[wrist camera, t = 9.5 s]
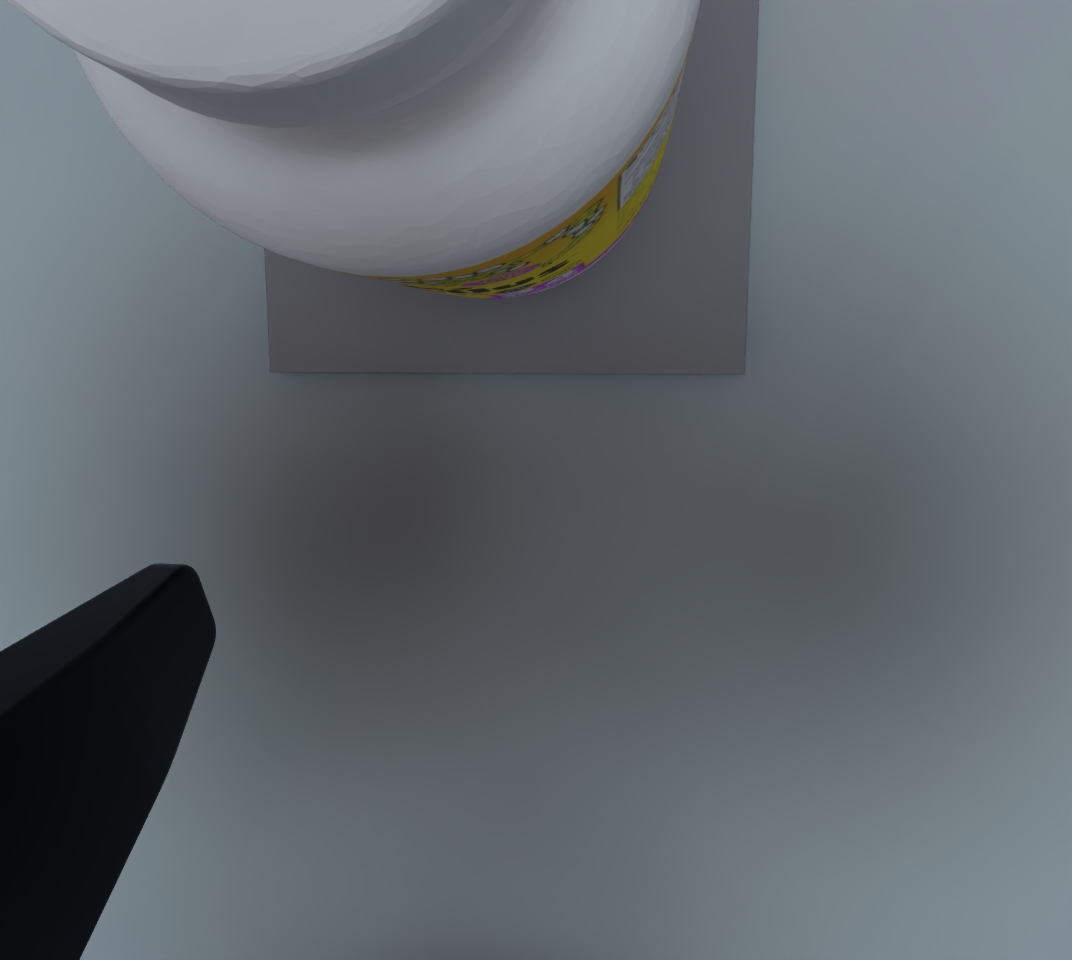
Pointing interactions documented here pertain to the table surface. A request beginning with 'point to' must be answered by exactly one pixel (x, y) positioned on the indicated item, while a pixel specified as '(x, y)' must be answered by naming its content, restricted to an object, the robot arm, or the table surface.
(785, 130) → the table surface
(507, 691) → the table surface
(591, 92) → the supplement bottle
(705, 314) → the pad
